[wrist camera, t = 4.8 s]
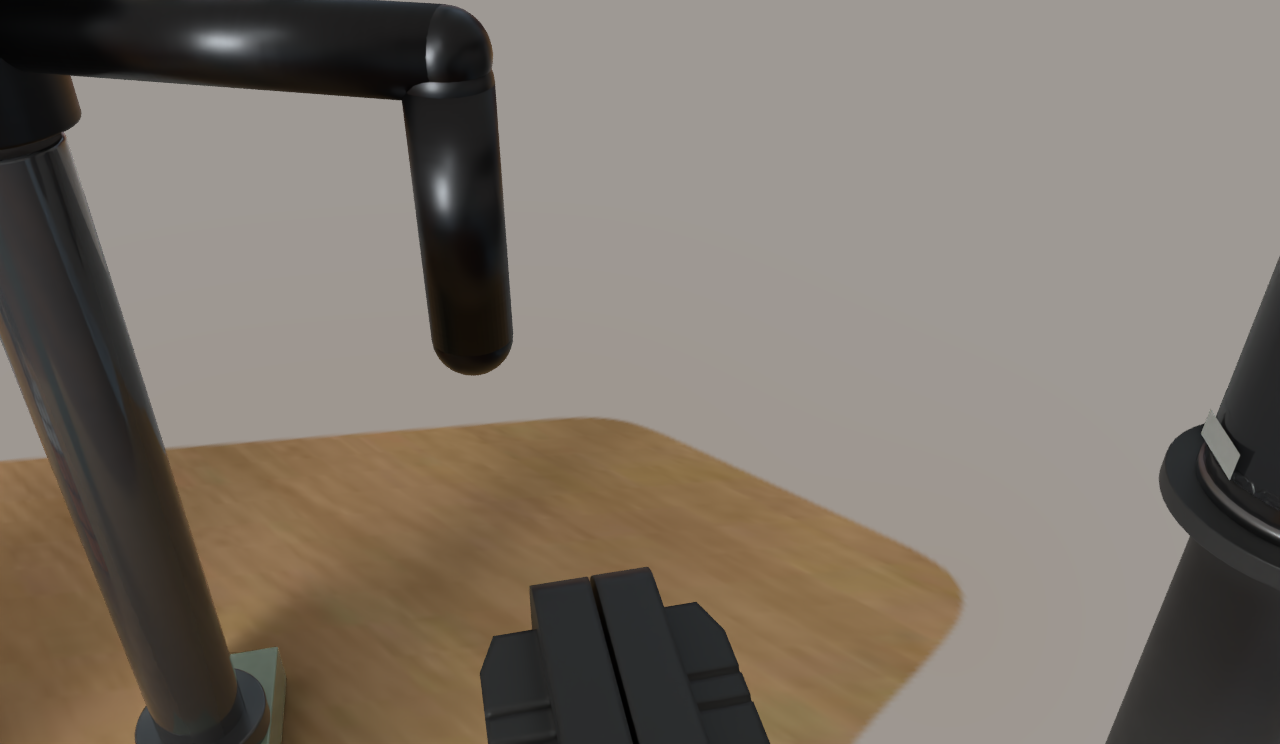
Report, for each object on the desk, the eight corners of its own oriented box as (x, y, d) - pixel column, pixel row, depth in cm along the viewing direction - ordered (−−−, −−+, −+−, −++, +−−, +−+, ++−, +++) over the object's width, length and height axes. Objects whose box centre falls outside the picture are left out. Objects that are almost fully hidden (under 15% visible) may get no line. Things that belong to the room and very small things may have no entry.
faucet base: (287, 678, 33) (125, 91, 22) (273, 843, 28) (57, 192, 18) (172, 698, 32) (-52, 101, 22) (137, 871, 27) (-173, 209, 17)
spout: (-60, 347, 21) (-281, -156, 16) (47, 278, 23) (-113, -172, 18) (487, 418, 19) (435, -132, 14) (536, 334, 21) (508, -153, 16)
